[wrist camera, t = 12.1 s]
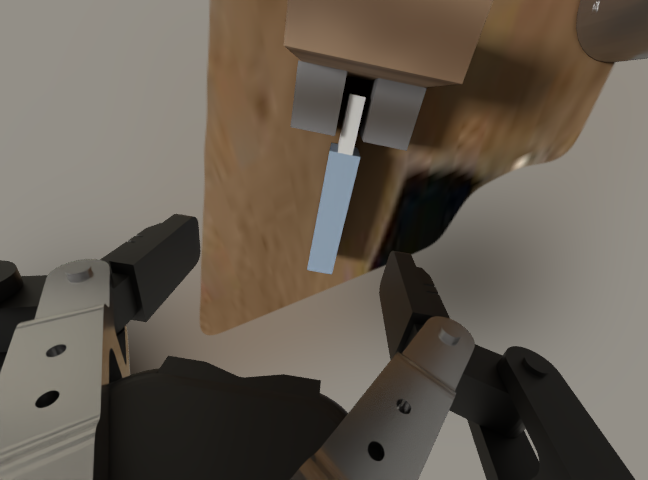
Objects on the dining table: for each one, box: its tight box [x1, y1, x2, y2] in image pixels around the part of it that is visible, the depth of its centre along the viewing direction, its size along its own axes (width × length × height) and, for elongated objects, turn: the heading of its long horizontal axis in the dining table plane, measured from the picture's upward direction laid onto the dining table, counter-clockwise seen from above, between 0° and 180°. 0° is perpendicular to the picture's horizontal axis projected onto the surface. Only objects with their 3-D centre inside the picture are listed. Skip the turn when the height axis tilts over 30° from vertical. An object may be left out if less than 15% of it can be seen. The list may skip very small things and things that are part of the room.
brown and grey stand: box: [284, 0, 493, 151], centre depth 21 cm, size 10×11×14 cm
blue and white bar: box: [307, 94, 366, 274], centre depth 30 cm, size 19×3×5 cm, turn 169°
